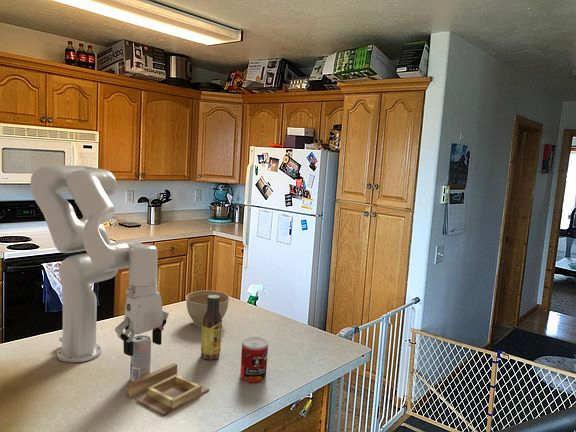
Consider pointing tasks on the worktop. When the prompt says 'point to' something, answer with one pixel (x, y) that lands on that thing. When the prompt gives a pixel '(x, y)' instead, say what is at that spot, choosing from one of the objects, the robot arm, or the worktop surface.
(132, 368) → the energy drink
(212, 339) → the sauce bottle
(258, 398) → the worktop surface
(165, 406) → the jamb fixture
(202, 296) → the planter bowl
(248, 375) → the canned food
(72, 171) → the robot arm
